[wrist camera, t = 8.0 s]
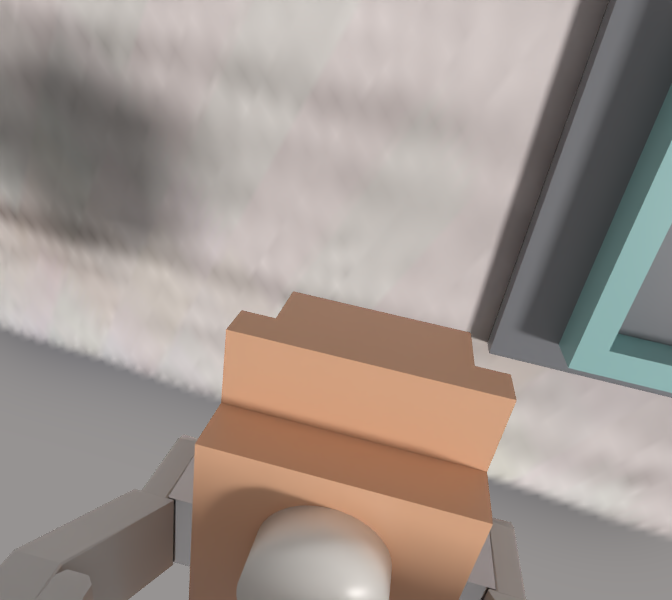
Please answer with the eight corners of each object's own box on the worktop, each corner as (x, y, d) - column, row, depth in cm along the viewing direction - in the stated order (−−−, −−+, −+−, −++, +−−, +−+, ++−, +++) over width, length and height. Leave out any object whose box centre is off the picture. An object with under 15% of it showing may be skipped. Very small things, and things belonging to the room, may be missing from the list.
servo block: (260, 535, 15) (164, 786, 10) (300, 237, 10) (165, 405, 5) (390, 572, 14) (363, 854, 9) (488, 278, 10) (540, 503, 5)
